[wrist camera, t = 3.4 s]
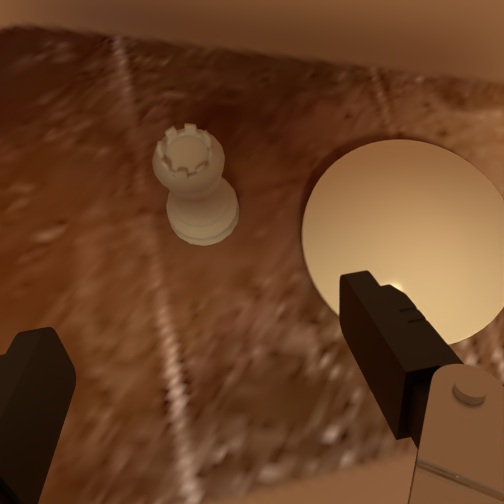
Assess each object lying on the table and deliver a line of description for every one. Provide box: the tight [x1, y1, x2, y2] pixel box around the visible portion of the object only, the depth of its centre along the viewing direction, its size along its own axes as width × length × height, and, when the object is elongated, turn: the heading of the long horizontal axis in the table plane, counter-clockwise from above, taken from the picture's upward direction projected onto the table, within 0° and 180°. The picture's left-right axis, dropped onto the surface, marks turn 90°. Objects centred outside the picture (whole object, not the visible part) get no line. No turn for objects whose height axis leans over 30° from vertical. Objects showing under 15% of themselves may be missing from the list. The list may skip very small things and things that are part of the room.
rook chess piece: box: [152, 123, 240, 246], centre depth 20 cm, size 4×4×8 cm
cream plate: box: [301, 139, 504, 344], centre depth 23 cm, size 13×13×1 cm
